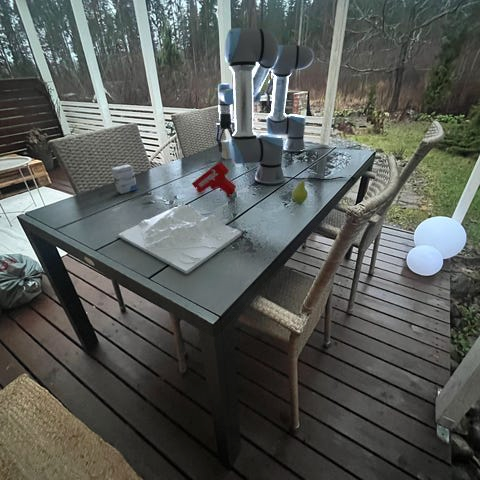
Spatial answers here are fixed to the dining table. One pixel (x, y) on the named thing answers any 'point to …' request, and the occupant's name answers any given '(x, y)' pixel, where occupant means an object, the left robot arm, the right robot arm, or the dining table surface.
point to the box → (225, 149)
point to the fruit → (300, 192)
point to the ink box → (124, 178)
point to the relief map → (181, 237)
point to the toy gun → (215, 180)
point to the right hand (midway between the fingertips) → (274, 104)
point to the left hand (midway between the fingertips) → (226, 150)
